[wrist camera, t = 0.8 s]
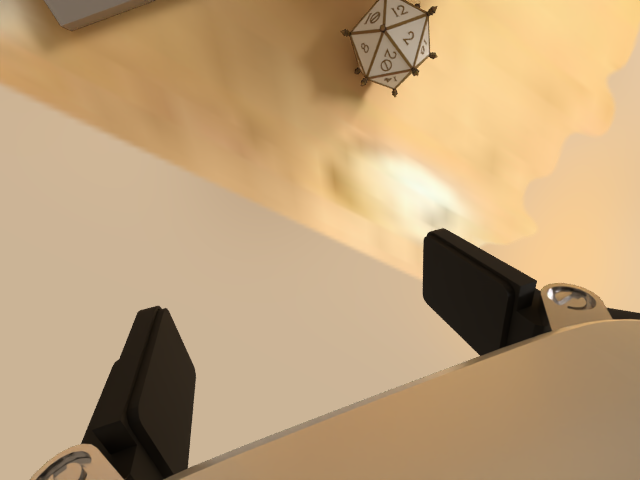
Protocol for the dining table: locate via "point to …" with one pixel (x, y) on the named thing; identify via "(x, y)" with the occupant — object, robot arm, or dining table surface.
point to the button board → (88, 10)
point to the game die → (391, 42)
